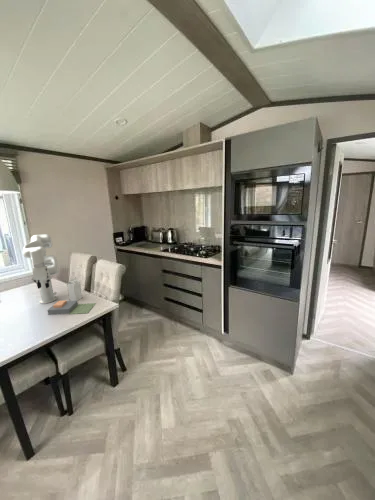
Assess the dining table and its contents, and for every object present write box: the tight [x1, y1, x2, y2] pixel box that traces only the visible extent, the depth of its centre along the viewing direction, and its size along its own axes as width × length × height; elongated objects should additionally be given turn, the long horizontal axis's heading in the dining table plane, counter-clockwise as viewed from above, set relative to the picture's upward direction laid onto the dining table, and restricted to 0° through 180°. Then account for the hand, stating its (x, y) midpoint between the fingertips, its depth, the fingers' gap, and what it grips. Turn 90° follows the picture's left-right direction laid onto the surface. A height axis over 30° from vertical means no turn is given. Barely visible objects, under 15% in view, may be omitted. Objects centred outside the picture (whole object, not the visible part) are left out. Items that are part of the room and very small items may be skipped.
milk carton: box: [66, 277, 83, 302], centre depth 188 cm, size 7×7×19 cm
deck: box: [46, 300, 79, 316], centre depth 172 cm, size 14×16×4 cm
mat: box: [68, 302, 96, 315], centre depth 172 cm, size 16×14×1 cm
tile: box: [52, 300, 68, 308], centre depth 171 cm, size 8×6×2 cm
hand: (43, 287), depth 168 cm, fingers open, 5 cm apart
